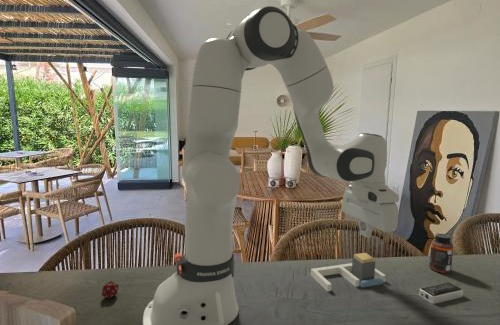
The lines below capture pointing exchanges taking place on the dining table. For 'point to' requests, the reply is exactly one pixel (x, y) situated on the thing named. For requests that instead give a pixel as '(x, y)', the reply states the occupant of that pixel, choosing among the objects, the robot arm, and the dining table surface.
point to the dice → (110, 290)
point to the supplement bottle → (441, 254)
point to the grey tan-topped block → (363, 266)
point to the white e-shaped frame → (345, 272)
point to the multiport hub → (441, 292)
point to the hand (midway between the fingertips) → (365, 236)
